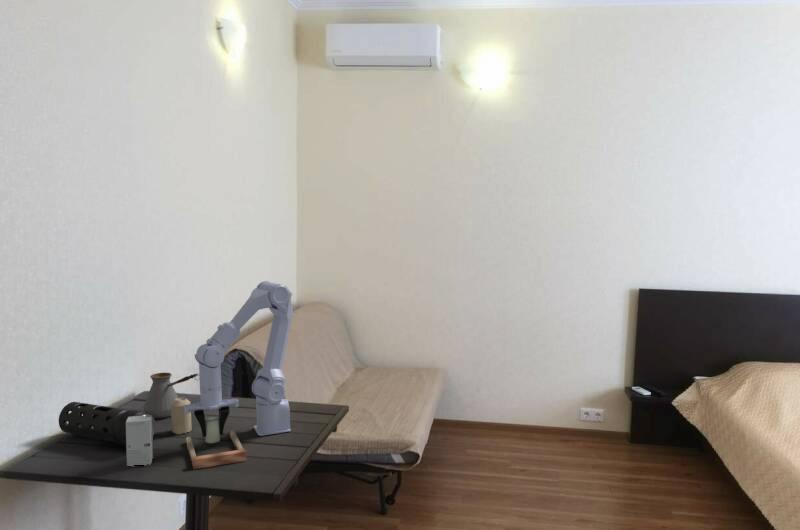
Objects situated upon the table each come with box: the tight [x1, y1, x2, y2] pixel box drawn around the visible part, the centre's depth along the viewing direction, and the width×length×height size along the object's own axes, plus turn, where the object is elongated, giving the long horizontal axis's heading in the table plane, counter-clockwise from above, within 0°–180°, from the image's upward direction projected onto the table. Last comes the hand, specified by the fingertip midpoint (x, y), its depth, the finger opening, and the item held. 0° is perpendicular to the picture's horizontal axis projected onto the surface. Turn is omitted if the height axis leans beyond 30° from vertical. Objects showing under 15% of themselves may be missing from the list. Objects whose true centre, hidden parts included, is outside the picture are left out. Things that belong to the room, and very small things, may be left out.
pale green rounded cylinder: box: [204, 416, 221, 444], centre depth 184 cm, size 4×4×6 cm
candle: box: [170, 397, 193, 435], centre depth 195 cm, size 6×6×10 cm
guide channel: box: [185, 430, 248, 470], centre depth 180 cm, size 13×20×2 cm
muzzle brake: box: [58, 401, 157, 447], centre depth 188 cm, size 10×28×10 cm, turn 67°
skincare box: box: [125, 415, 154, 467], centre depth 172 cm, size 6×4×12 cm
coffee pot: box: [143, 372, 200, 419], centre depth 209 cm, size 21×12×15 cm, turn 64°
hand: (212, 434), depth 184 cm, fingers closed on pale green rounded cylinder, 4 cm apart
